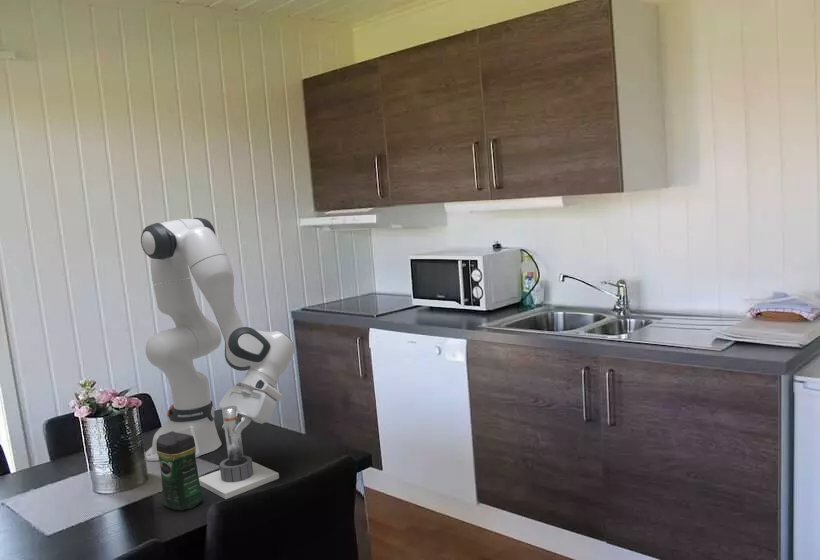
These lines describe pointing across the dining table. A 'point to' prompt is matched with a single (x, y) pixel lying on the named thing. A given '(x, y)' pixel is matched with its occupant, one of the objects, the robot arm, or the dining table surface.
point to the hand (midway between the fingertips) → (230, 431)
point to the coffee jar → (179, 470)
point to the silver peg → (232, 433)
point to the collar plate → (237, 486)
